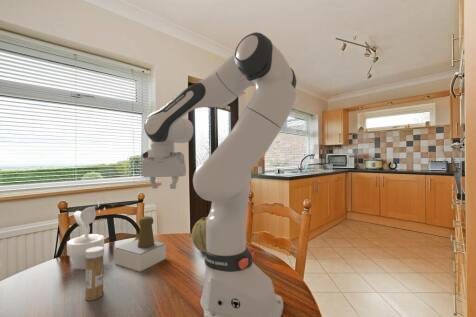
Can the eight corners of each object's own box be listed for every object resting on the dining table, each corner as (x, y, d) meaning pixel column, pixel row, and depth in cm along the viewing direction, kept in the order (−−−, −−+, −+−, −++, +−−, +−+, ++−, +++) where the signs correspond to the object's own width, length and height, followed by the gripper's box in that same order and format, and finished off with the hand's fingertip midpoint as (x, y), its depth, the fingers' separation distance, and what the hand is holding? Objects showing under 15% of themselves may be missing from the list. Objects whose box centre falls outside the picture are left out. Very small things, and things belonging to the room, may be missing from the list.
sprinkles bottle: (104, 297, 63) (104, 249, 64) (85, 303, 61) (85, 253, 61) (103, 289, 67) (103, 244, 67) (84, 295, 64) (84, 248, 65)
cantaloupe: (233, 249, 98) (232, 215, 98) (210, 261, 86) (210, 222, 86) (208, 242, 106) (208, 210, 107) (184, 252, 94) (184, 217, 95)
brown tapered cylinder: (148, 249, 83) (148, 219, 83) (134, 247, 84) (134, 218, 85) (157, 243, 89) (157, 215, 89) (144, 242, 90) (144, 214, 91)
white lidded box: (165, 258, 89) (165, 243, 89) (139, 271, 78) (139, 254, 78) (141, 252, 95) (141, 238, 95) (114, 263, 85) (114, 247, 85)
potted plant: (110, 264, 84) (110, 197, 84) (73, 277, 75) (73, 201, 75) (95, 256, 91) (95, 194, 92) (60, 266, 82) (61, 198, 82)
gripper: (189, 151, 86) (190, 187, 86) (150, 154, 95) (151, 187, 95) (177, 151, 80) (179, 189, 80) (138, 154, 90) (139, 189, 89)
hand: (163, 188), depth 87 cm, fingers open, 8 cm apart
